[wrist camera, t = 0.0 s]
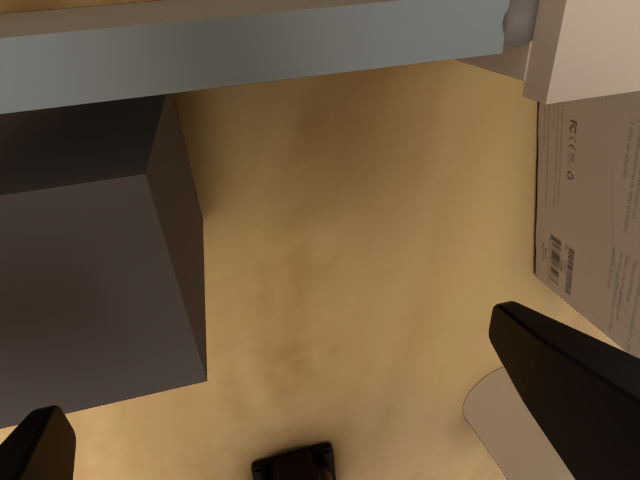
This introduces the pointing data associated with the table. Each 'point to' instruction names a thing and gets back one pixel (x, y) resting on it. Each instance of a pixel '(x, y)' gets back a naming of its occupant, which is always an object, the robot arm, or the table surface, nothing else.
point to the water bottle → (511, 431)
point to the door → (235, 43)
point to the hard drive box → (592, 210)
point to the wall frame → (575, 51)
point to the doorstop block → (98, 257)
